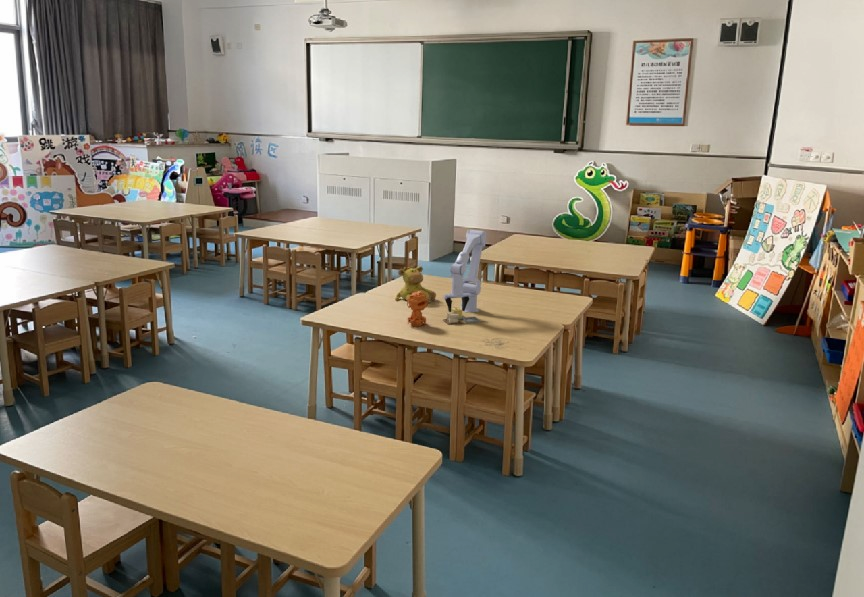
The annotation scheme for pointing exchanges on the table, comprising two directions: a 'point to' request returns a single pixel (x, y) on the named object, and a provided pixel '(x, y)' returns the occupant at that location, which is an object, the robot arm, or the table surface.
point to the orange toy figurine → (417, 308)
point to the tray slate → (471, 319)
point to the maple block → (452, 317)
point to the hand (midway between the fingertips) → (456, 311)
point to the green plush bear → (413, 284)
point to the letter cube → (457, 311)
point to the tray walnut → (452, 323)
